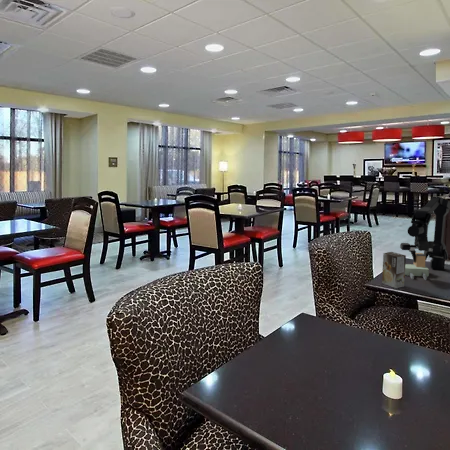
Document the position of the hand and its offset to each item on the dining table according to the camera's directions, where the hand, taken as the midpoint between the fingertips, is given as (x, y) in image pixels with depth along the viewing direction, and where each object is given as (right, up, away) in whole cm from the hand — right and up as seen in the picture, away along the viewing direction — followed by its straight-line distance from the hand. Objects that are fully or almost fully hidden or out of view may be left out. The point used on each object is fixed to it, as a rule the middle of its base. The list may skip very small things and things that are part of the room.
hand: (419, 262), depth 205 cm
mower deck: (+1, -7, +6) cm, 10 cm away
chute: (0, -1, 0) cm, 1 cm away
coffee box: (-18, -10, -9) cm, 23 cm away
